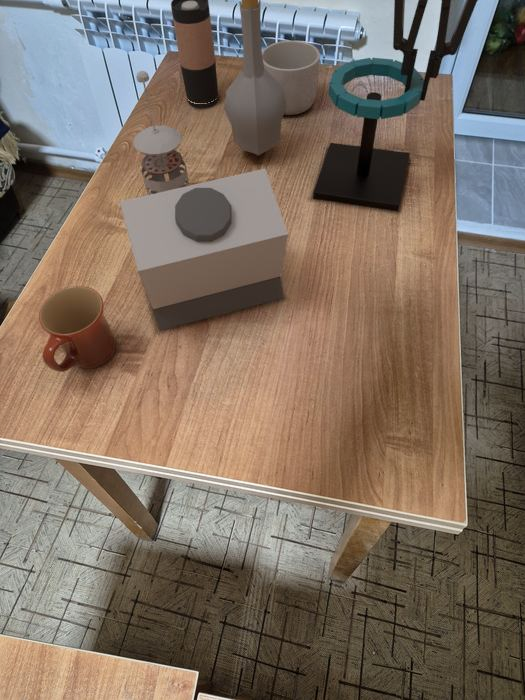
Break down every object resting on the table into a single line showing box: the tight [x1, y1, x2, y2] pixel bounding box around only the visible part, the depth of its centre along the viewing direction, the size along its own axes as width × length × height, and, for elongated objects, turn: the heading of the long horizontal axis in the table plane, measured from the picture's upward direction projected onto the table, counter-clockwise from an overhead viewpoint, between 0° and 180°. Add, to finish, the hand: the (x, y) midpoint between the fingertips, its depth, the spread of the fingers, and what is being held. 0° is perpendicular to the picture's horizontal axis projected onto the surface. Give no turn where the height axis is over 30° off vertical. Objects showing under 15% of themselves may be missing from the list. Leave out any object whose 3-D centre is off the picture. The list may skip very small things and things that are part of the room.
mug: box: [38, 285, 117, 373], centre depth 73 cm, size 12×9×10 cm
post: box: [312, 91, 411, 212], centre depth 93 cm, size 16×16×16 cm
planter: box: [262, 40, 321, 116], centre depth 110 cm, size 12×12×11 cm
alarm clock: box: [119, 168, 289, 332], centre depth 76 cm, size 20×16×20 cm
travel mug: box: [170, 0, 219, 109], centre depth 109 cm, size 8×8×20 cm
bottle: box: [223, 0, 287, 157], centre depth 93 cm, size 11×11×30 cm
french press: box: [132, 70, 190, 195], centre depth 87 cm, size 10×12×25 cm
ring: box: [328, 57, 425, 120], centre depth 85 cm, size 15×15×2 cm
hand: (414, 94), depth 84 cm, fingers closed on ring, 2 cm apart
